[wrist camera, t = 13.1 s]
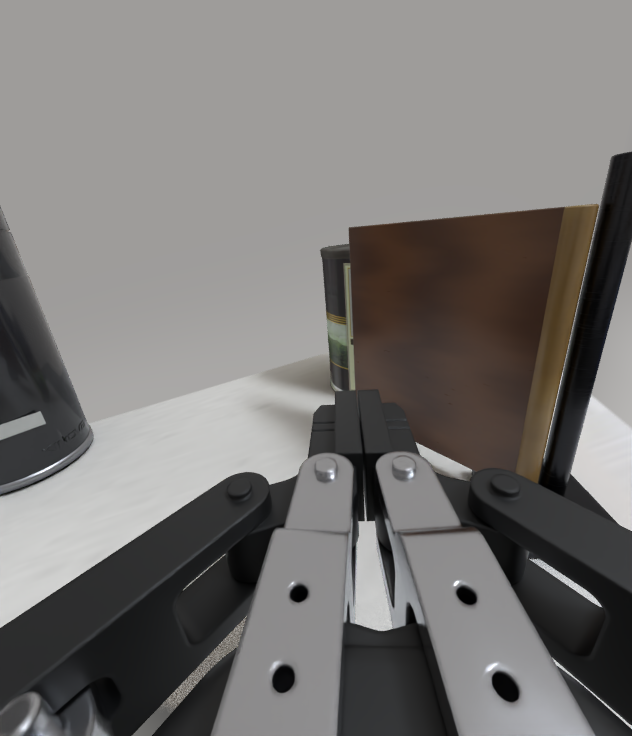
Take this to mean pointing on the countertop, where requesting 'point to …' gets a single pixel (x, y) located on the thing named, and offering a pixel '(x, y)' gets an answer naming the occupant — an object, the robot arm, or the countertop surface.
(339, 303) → the coffee can
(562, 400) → the hinge post
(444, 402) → the door
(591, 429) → the countertop surface
